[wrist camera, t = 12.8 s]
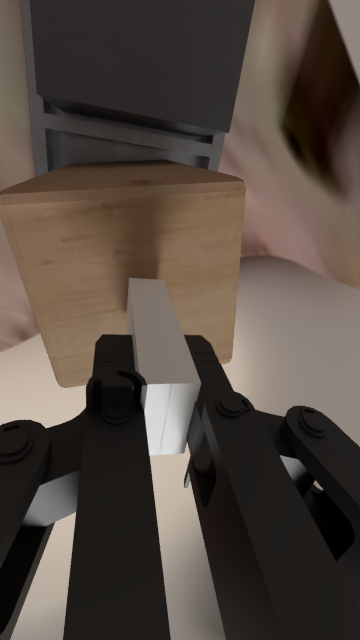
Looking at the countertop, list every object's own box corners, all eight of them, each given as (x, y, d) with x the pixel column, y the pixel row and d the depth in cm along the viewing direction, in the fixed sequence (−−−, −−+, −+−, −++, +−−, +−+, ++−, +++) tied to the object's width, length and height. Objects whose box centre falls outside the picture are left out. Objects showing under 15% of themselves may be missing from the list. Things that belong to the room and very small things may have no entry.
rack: (52, 272, 33) (28, 322, 24) (30, -32, 21) (-35, -169, 12) (191, 282, 37) (216, 327, 28) (237, 29, 25) (307, -38, 16)
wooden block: (66, 163, 27) (-14, 191, 10) (170, 159, 28) (251, 176, 12) (87, 264, 32) (57, 393, 15) (174, 256, 34) (234, 365, 17)
